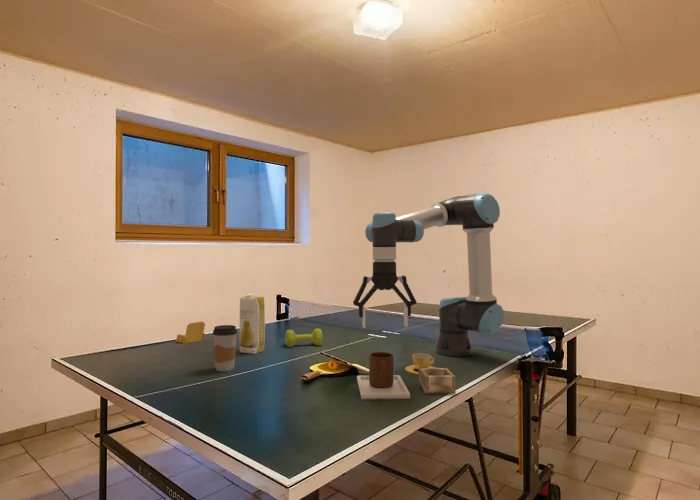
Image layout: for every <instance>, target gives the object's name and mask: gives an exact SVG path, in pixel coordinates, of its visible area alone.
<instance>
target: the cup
mask: <svg viewBox="0 0 700 500" xmlns="http://www.w3.org/2000/svg"><path fill="white" fill-rule="evenodd" d="M412 361H413V362H412V363H413V364H411V365H407V366H406V367H405V368H404V369H405V371H406V372H408V373H410V374H415V375H419V368H437V367H436V366H432V365H433V364H434V363H435V358H434V356H431V354H429V353H418V352H417V353H413V354H412ZM415 369H416V370H417V371H416V370H415Z"/></svg>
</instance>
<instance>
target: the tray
mask: <svg viewBox="0 0 700 500" xmlns="http://www.w3.org/2000/svg"><path fill="white" fill-rule="evenodd" d="M356 382H357V387H358V390H359V396H360V400H410V399H411V393H410V391H409V390H408V388H407V386H406V384H405V383H404V380H403V379H402V377H401V375H400V374H399V375H398V374H397V375H396V374H393V385H392V386H391V387H388V388H376V387H373V386H371V385H370V383H369V375H357V376H356Z"/></svg>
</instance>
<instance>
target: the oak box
mask: <svg viewBox="0 0 700 500" xmlns="http://www.w3.org/2000/svg"><path fill="white" fill-rule="evenodd" d="M418 372H419V374H418V385H419V386H420V388H421V389H422V390H423V392H424V394H456V376H455V375H454V374H453V373H452V372H451V371H450V370H449V368H447V367H436V368H419V371H418Z"/></svg>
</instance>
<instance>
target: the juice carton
mask: <svg viewBox="0 0 700 500" xmlns="http://www.w3.org/2000/svg"><path fill="white" fill-rule="evenodd" d="M265 308H266V302H265V296H254V293H249V294H248V293H247V295H246V296H241V297H240V299H239V352H240V353H245V354H253V355H256V354H258V353H261V352H263V351H264V350H265V337H266V336H265V335H266V334H265V333H266V326H265V324H266V321H265V320H266V318H265V317H266V316H265V315H266V314H265V312H266V309H265Z"/></svg>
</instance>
